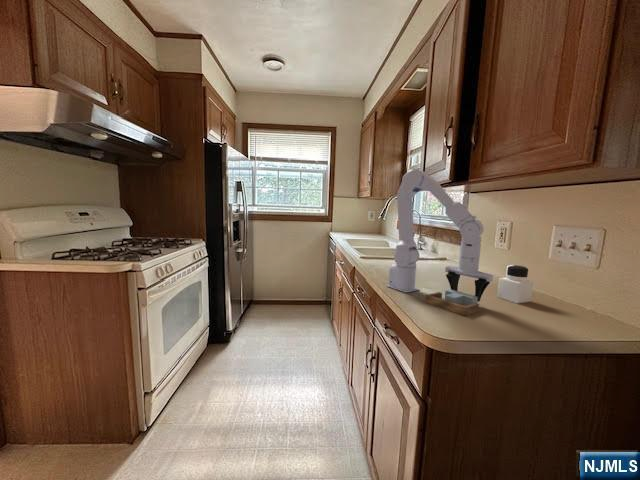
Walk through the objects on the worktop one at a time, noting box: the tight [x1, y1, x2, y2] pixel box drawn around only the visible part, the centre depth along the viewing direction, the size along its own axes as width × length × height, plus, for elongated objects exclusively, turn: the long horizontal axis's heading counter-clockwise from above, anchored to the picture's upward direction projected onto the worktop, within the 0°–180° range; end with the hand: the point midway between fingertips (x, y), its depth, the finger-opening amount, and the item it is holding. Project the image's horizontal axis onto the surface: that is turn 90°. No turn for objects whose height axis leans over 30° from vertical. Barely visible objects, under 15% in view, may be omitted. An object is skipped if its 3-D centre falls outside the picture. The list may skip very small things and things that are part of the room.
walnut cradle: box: [425, 291, 480, 317], centre depth 86 cm, size 13×7×2 cm, turn 34°
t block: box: [444, 288, 478, 306], centre depth 87 cm, size 9×8×4 cm
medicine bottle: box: [496, 264, 534, 305], centre depth 95 cm, size 7×7×12 cm
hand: (465, 297), depth 90 cm, fingers open, 7 cm apart
